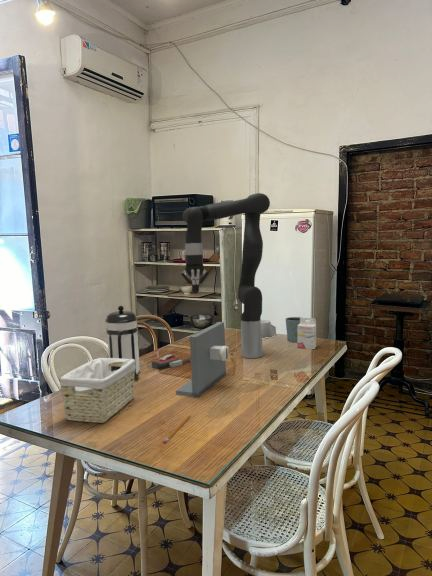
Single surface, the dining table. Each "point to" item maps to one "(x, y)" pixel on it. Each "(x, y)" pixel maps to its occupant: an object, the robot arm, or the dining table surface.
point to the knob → (224, 353)
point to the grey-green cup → (292, 328)
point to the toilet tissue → (267, 329)
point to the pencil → (176, 429)
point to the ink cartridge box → (306, 334)
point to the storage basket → (97, 389)
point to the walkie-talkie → (168, 362)
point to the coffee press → (123, 337)
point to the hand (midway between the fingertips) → (195, 292)
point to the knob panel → (205, 360)
